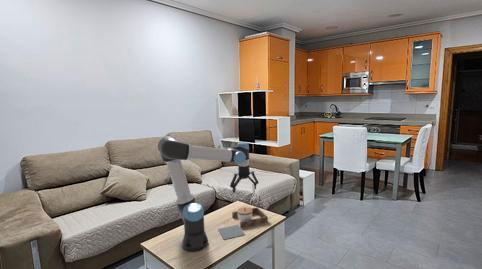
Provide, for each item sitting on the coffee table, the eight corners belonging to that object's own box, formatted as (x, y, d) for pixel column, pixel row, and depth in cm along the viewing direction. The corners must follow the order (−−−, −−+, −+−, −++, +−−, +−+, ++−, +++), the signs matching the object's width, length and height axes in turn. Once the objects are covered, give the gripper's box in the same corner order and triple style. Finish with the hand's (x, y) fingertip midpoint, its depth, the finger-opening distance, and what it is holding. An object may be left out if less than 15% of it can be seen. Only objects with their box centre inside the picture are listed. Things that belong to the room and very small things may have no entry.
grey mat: (223, 239, 164) (223, 239, 164) (217, 229, 177) (217, 228, 177) (245, 235, 169) (245, 234, 169) (237, 225, 182) (237, 224, 182)
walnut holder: (240, 228, 177) (240, 222, 177) (232, 217, 194) (232, 212, 193) (267, 222, 184) (267, 216, 184) (257, 212, 200) (257, 207, 200)
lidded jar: (253, 224, 182) (252, 211, 181) (237, 224, 183) (236, 211, 181) (252, 217, 193) (252, 204, 192) (237, 217, 193) (237, 205, 192)
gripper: (227, 168, 174) (229, 200, 177) (262, 164, 183) (263, 194, 186) (224, 166, 181) (225, 196, 184) (258, 161, 190) (259, 190, 193)
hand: (244, 195), depth 185 cm, fingers open, 13 cm apart
